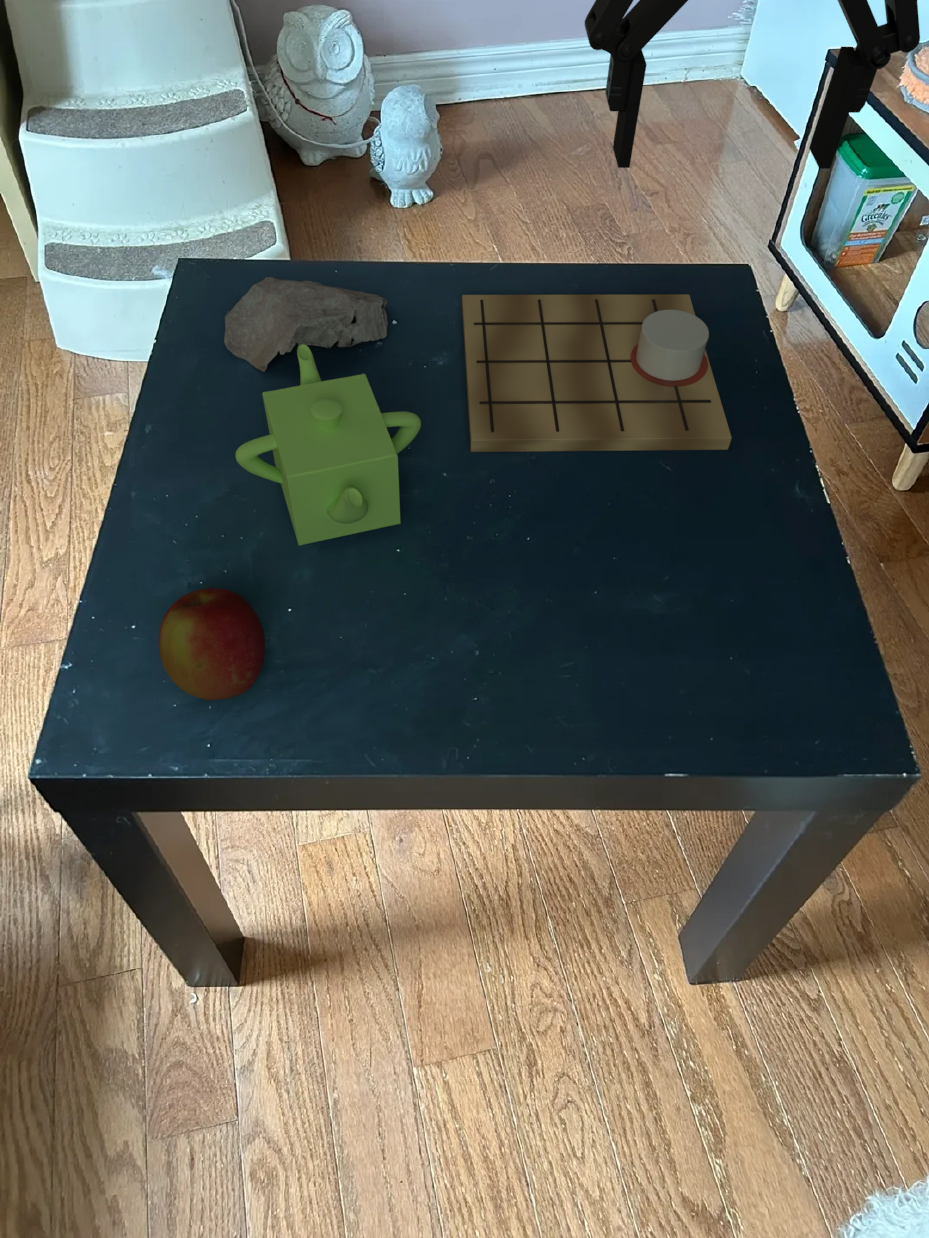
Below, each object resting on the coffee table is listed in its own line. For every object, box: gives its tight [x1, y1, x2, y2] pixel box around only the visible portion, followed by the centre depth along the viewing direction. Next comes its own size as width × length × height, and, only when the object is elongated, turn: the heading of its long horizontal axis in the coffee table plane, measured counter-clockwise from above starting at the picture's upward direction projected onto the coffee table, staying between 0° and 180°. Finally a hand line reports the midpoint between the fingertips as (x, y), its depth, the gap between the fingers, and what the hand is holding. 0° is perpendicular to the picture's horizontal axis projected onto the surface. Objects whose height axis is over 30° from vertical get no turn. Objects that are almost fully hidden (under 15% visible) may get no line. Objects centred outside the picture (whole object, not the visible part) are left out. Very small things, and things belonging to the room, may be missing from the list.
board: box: [461, 293, 732, 453], centre depth 95 cm, size 24×22×2 cm
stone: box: [223, 276, 389, 373], centre depth 96 cm, size 15×8×15 cm
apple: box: [158, 587, 266, 701], centre depth 70 cm, size 8×8×8 cm
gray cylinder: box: [636, 310, 710, 381], centre depth 94 cm, size 6×6×4 cm
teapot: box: [235, 344, 422, 546], centre depth 80 cm, size 15×13×11 cm
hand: (720, 158), depth 65 cm, fingers open, 13 cm apart
